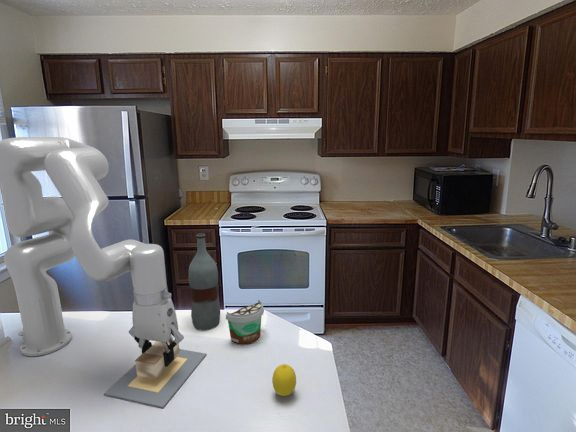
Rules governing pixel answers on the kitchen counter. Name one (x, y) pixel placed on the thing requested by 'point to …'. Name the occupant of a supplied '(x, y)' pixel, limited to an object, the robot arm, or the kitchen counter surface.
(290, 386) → the lemon
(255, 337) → the food container
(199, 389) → the kitchen counter surface
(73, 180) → the robot arm
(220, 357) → the kitchen counter surface
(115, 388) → the mat
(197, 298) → the bottle
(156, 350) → the birch block
